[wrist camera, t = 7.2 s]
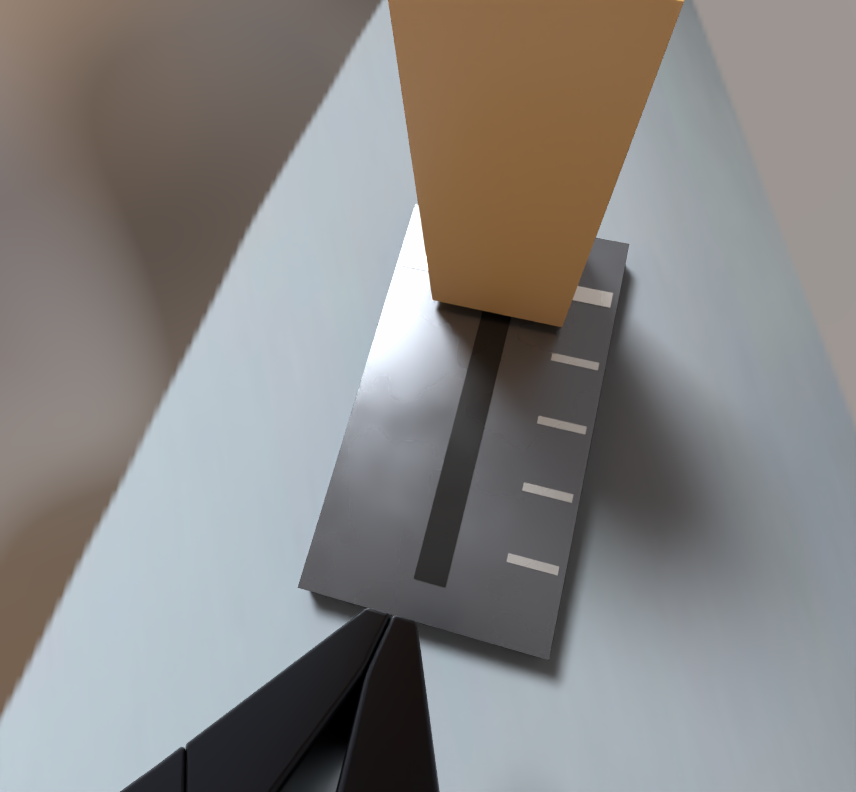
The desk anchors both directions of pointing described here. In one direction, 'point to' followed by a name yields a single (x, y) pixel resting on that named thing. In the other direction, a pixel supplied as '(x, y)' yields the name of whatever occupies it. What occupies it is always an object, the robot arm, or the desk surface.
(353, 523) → the plate
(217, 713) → the desk surface
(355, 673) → the robot arm
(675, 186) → the desk surface
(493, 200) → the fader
